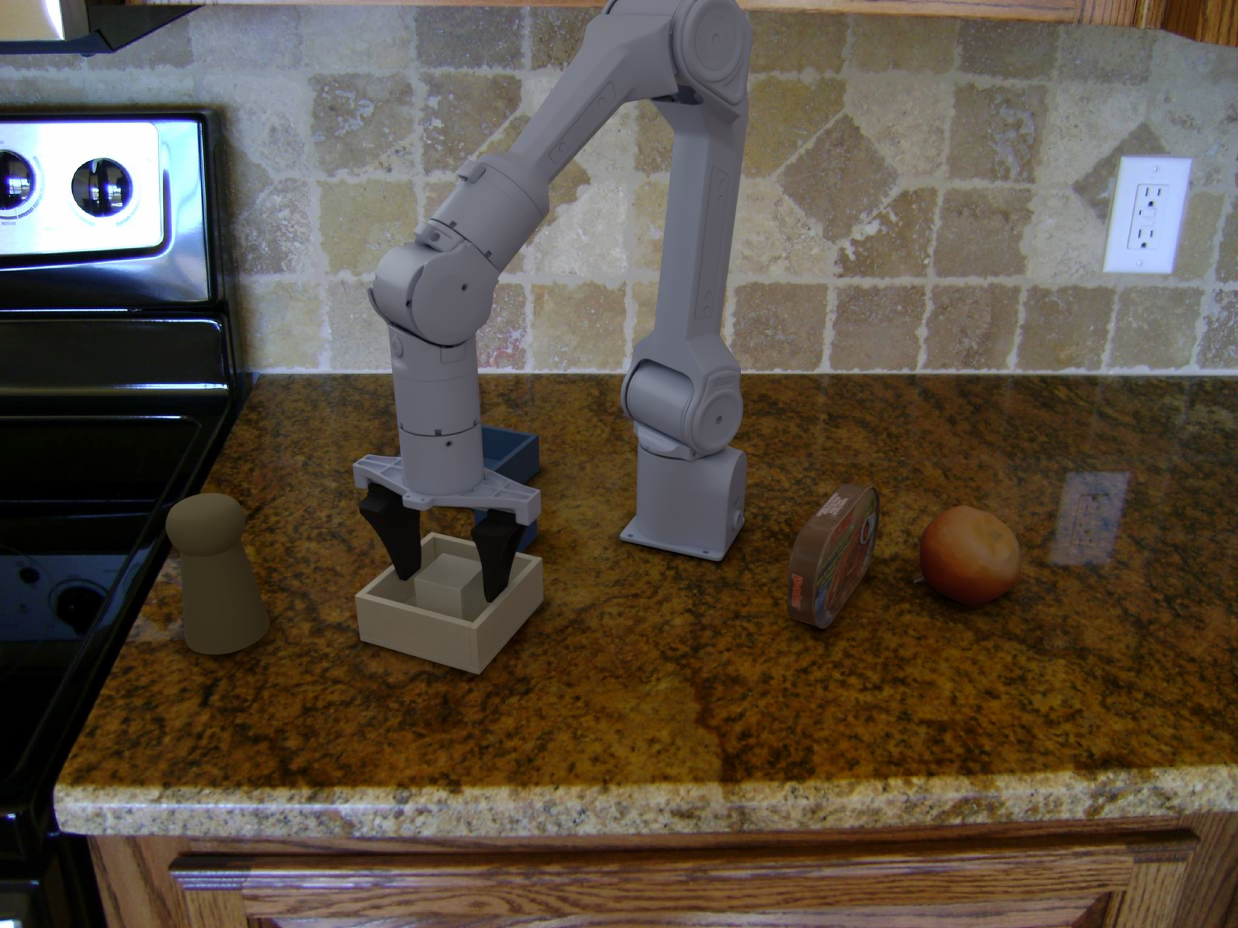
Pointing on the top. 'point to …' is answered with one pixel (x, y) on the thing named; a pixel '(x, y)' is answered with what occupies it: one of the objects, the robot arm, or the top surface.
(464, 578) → the cream block
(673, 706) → the top surface
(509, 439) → the blue bin
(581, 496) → the top surface
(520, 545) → the blue block
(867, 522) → the tin
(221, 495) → the cork
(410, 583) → the cream bin
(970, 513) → the fruit
